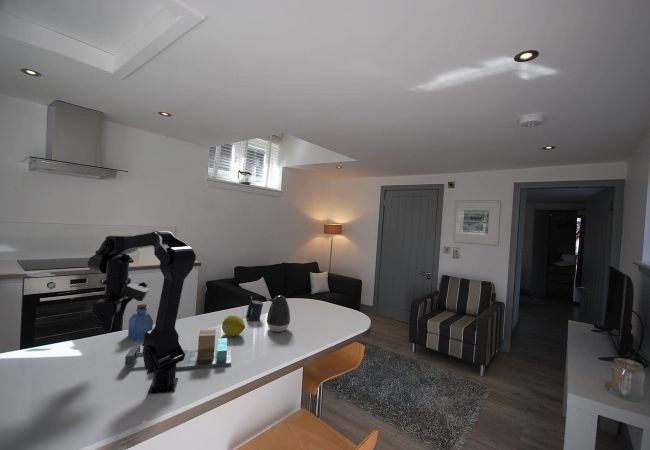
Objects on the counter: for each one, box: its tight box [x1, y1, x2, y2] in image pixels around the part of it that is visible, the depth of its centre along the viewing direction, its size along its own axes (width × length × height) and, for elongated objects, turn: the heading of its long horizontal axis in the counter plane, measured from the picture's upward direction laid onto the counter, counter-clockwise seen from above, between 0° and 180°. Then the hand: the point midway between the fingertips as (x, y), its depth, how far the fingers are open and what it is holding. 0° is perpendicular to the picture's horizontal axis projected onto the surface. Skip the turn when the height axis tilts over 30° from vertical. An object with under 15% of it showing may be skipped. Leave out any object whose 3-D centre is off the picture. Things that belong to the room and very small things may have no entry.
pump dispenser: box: [266, 294, 291, 333], centre depth 131 cm, size 10×10×15 cm
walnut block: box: [197, 329, 217, 360], centre depth 100 cm, size 5×5×8 cm
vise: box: [147, 337, 232, 374], centre depth 99 cm, size 24×12×5 cm, turn 108°
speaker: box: [245, 296, 264, 322], centre depth 141 cm, size 8×6×10 cm
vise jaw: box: [124, 344, 169, 367], centre depth 95 cm, size 11×10×4 cm
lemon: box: [221, 314, 246, 337], centre depth 121 cm, size 11×8×8 cm
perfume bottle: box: [127, 303, 154, 342], centre depth 114 cm, size 6×6×12 cm
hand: (113, 326), depth 91 cm, fingers open, 9 cm apart
